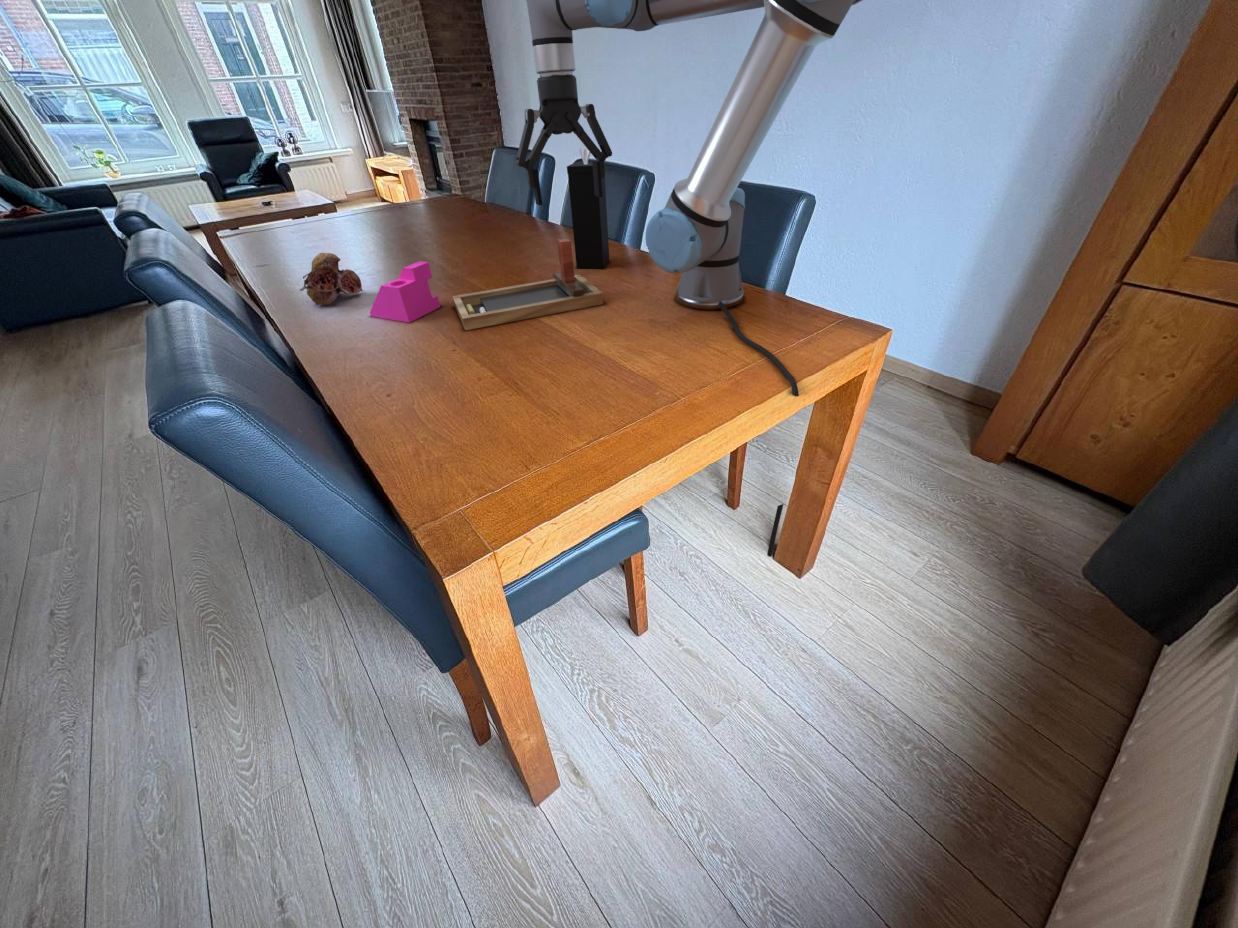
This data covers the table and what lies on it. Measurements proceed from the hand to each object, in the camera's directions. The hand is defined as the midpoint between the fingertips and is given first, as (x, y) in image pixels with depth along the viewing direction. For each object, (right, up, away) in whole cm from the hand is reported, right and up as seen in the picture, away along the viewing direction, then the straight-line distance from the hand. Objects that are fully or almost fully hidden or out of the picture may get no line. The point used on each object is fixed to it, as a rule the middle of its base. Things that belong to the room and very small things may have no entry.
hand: (569, 200), depth 106 cm
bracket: (-40, -21, +11) cm, 46 cm away
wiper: (-1, -15, +12) cm, 19 cm away
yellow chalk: (-23, -21, +7) cm, 33 cm away
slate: (-11, -19, +10) cm, 24 cm away
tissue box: (+3, 0, +34) cm, 34 cm away
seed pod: (-61, -15, +19) cm, 66 cm away
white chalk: (-20, -23, +5) cm, 31 cm away
